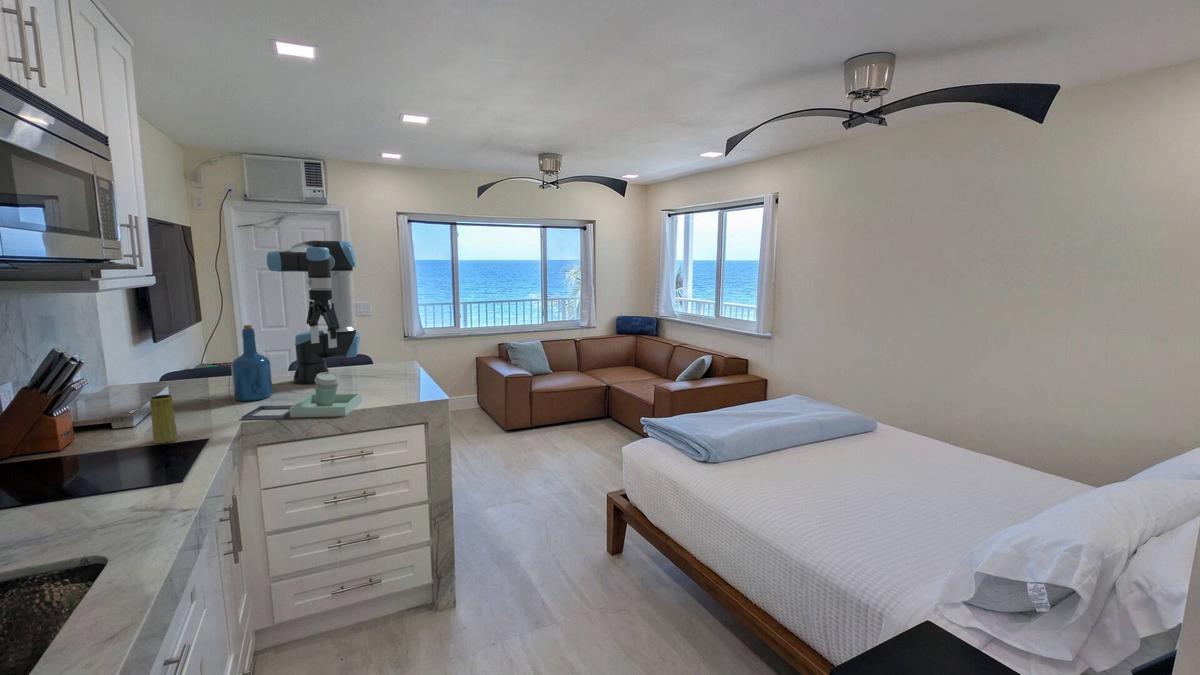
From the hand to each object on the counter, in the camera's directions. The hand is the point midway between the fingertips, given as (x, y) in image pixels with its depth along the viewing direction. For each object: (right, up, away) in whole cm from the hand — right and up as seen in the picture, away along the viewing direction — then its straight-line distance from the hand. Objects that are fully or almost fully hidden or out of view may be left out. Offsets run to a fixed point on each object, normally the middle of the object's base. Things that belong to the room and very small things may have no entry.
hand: (323, 345), depth 194 cm
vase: (-32, -30, -33) cm, 55 cm away
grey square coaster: (-17, -25, -4) cm, 31 cm away
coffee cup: (-3, -23, +5) cm, 24 cm away
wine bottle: (-38, -22, +16) cm, 46 cm away
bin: (0, -25, +3) cm, 25 cm away
